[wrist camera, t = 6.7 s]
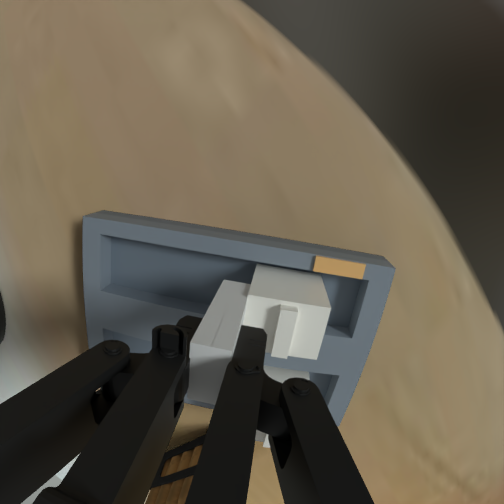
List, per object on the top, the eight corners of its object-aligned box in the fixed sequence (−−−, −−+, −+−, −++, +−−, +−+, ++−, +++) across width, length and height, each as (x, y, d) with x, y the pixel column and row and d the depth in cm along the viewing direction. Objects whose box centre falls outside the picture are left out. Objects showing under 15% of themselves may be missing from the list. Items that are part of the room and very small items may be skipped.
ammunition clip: (231, 420, 25) (205, 534, 14) (245, 432, 26) (225, 543, 14) (160, 454, 28) (124, 541, 16) (173, 463, 28) (141, 550, 17)
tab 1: (249, 307, 21) (237, 354, 15) (256, 263, 20) (246, 299, 14) (310, 317, 20) (317, 366, 15) (320, 274, 20) (332, 313, 14)
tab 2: (246, 390, 22) (236, 444, 17) (252, 359, 22) (243, 412, 16) (299, 398, 22) (300, 452, 17) (308, 367, 21) (312, 422, 16)
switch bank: (107, 358, 25) (91, 376, 22) (103, 210, 21) (81, 216, 19) (335, 404, 24) (339, 427, 21) (383, 256, 20) (396, 269, 18)
